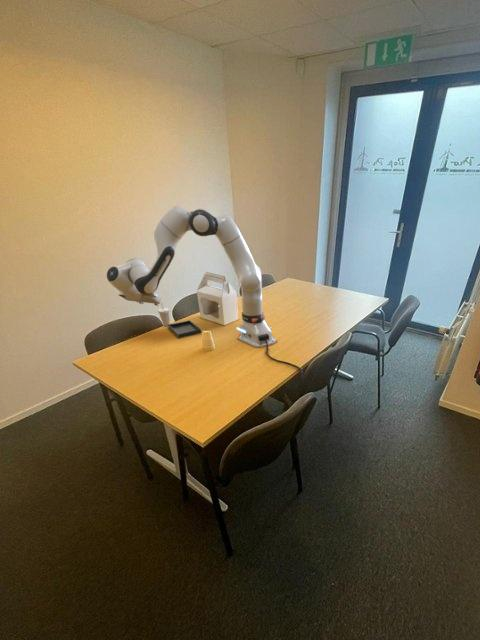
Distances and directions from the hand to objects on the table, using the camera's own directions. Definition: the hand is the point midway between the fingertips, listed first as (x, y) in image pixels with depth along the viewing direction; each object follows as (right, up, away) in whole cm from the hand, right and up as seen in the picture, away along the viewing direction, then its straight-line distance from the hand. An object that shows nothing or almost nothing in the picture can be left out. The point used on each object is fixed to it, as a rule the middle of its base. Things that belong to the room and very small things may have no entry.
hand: (149, 303), depth 165 cm
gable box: (+32, -2, +30) cm, 43 cm away
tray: (+15, -13, +12) cm, 23 cm away
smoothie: (+2, -8, +18) cm, 20 cm away
